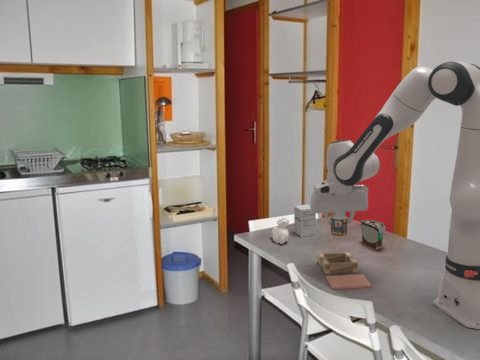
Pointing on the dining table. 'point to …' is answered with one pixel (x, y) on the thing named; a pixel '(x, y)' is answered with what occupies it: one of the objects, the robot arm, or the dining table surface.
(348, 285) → the mat
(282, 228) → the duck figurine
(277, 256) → the dining table surface
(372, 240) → the food container
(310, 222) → the supplement box
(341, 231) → the pill bottle
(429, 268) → the dining table surface
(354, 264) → the block
